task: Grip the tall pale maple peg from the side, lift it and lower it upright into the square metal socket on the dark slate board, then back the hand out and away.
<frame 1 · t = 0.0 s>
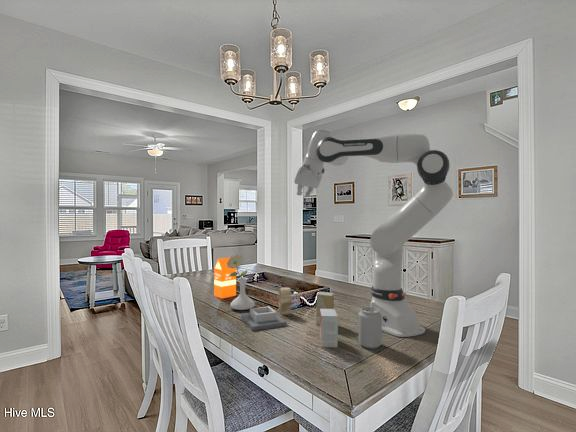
hand: (303, 195, 143), 52 cm above the table, tool tilted 20°, fingers open, 8 cm apart
maple peg: (284, 313, 137), on the table
small box: (328, 343, 107), on the table
skincare box: (325, 324, 125), on the table
can: (369, 345, 105), on the table
socket board: (263, 321, 127), on the table
flower in vase: (240, 308, 144), on the table
orange juice: (225, 295, 166), on the table
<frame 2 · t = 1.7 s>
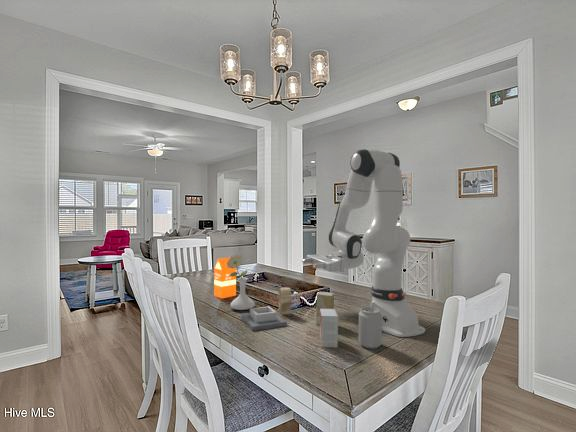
hand: (308, 263, 141), 21 cm above the table, tool horizontal, fingers open, 8 cm apart
nothing on the table moved.
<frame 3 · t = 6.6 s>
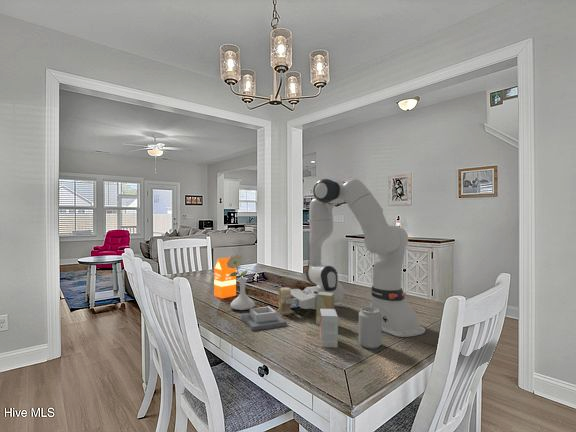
hand: (282, 299, 137), 6 cm above the table, tool horizontal, fingers closed on maple peg, 4 cm apart
maple peg: (284, 313, 137), on the table, touching gripper
everything else where it was.
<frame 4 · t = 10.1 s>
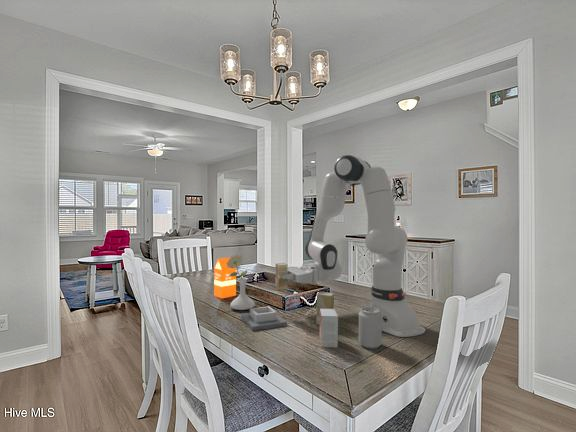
hand: (279, 275, 135), 17 cm above the table, tool horizontal, fingers closed on maple peg, 4 cm apart
maple peg: (281, 289, 136), point 11 cm above the table, touching gripper
everything else where it was.
when the fingers open (9 cm above the table, at t = 14.0 s): maple peg drops 2 cm, resting on socket board.
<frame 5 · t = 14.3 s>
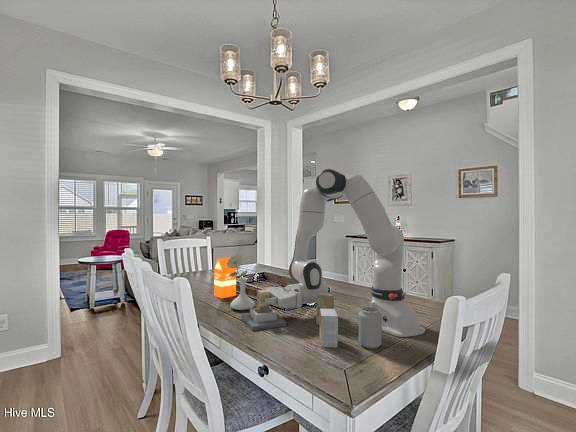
hand: (261, 298, 127), 9 cm above the table, tool horizontal, fingers open, 6 cm apart
maple peg: (263, 317, 127), point 2 cm above the table, touching socket board
everything else where it was.
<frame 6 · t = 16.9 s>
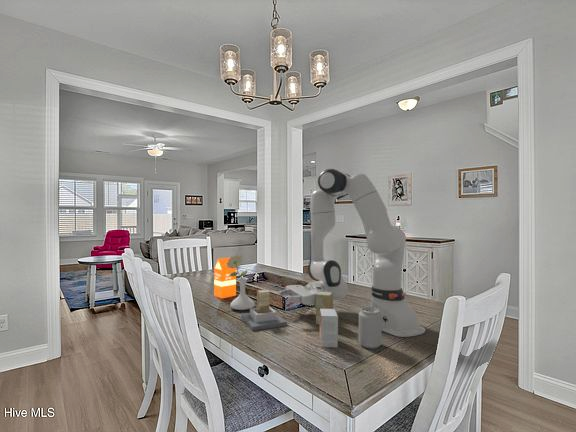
hand: (283, 295, 130), 9 cm above the table, tool horizontal, fingers open, 8 cm apart
nothing on the table moved.
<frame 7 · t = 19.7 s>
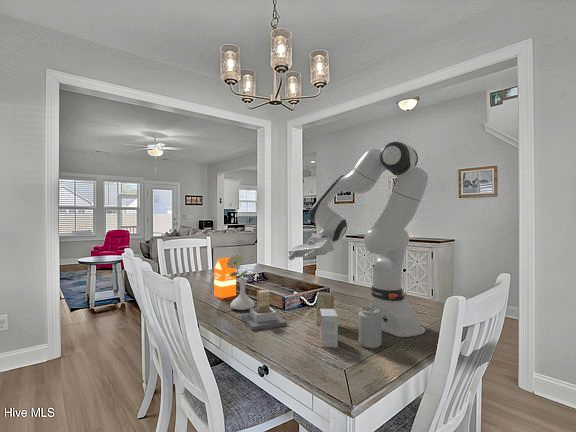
hand: (297, 257, 130), 26 cm above the table, tool tilted 70°, fingers open, 8 cm apart
nothing on the table moved.
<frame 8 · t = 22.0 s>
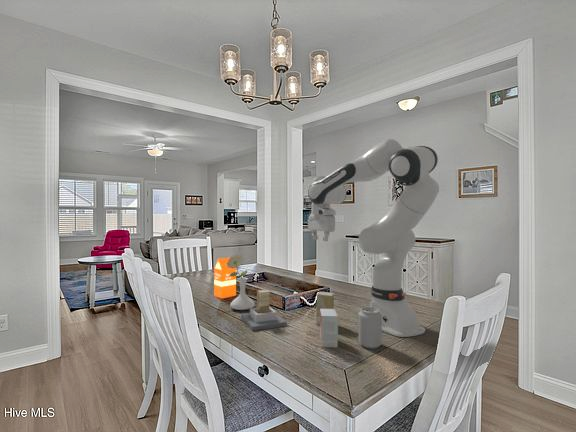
hand: (320, 240, 148), 31 cm above the table, tool pointing down, fingers open, 8 cm apart
nothing on the table moved.
at the end: maple peg 0.0 cm off-centre on the socket board, point 1.5 cm above the socket board's base; maple peg tilted 0°; the gripper is holding nothing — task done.
